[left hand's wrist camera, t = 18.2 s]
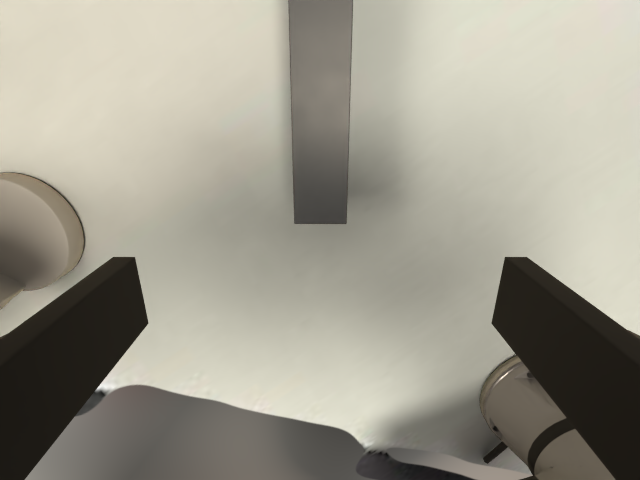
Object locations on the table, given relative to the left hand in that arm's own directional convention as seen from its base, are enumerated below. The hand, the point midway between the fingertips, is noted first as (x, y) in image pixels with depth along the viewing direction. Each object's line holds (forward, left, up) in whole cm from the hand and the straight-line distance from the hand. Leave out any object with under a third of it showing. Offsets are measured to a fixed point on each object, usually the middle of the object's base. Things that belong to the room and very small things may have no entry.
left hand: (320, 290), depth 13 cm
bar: (+10, +3, -26) cm, 28 cm away
